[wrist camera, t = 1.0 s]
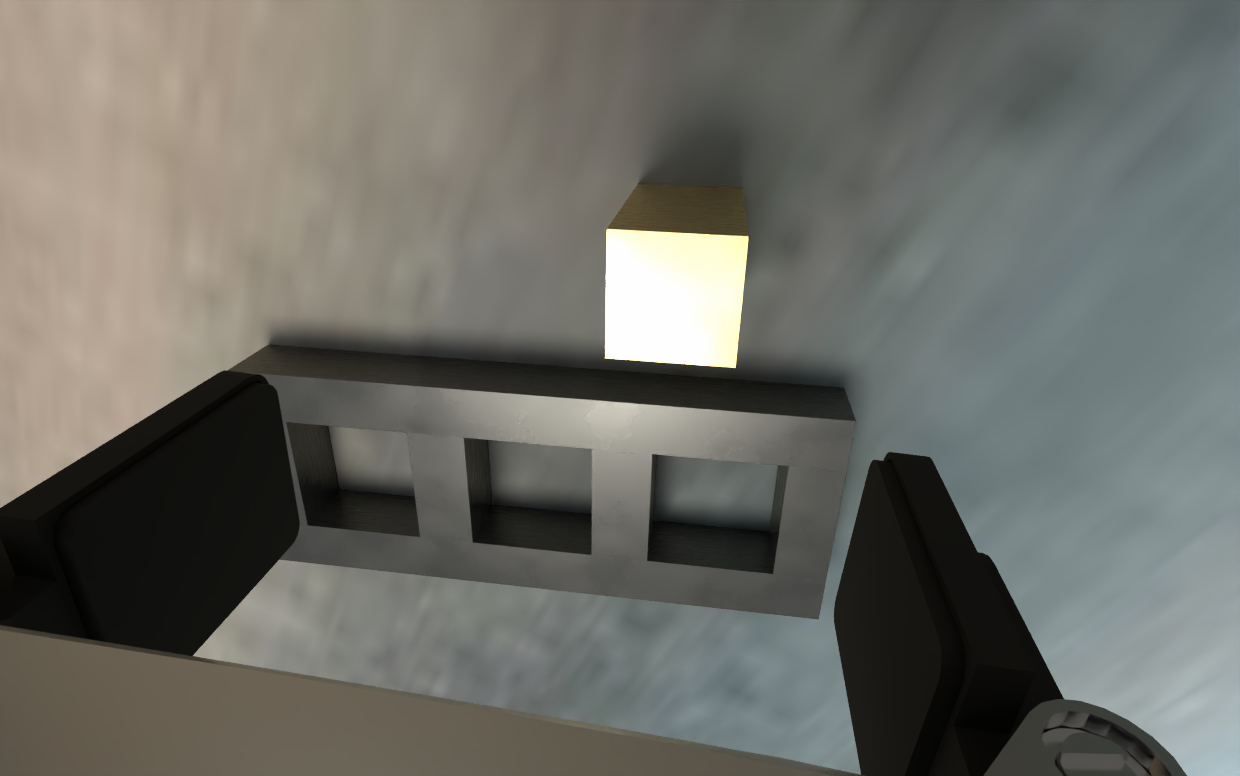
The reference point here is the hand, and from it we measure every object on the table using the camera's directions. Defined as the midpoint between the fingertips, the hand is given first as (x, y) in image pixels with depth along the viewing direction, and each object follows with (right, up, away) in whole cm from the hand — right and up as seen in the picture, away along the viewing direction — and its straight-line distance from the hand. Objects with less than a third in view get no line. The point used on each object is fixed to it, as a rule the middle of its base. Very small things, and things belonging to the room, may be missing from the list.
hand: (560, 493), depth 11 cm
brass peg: (+4, +8, +17) cm, 19 cm away
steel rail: (-3, -2, +22) cm, 22 cm away
